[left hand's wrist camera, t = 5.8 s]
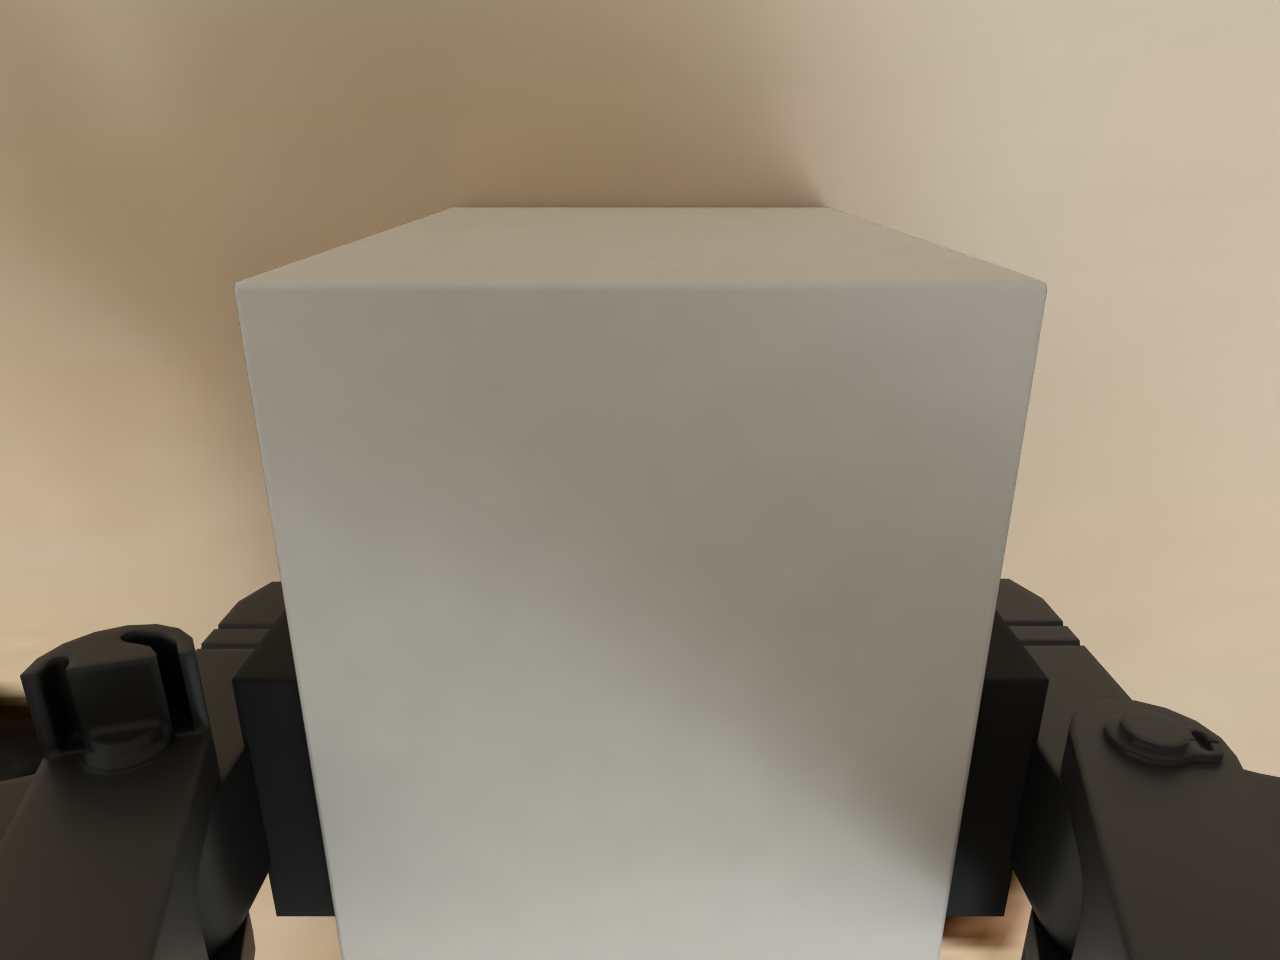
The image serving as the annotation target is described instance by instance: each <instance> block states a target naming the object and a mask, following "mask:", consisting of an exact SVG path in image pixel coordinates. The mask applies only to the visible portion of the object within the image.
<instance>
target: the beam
mask: <svg viewBox="0 0 1280 960" xmlns="http://www.w3.org/2000/svg"><path fill="white" fill-rule="evenodd" d="M234 292H235V298H236V304H237V310H238V317H239V323H240V329H241V335H242V341H243V348H244V354H245V360H246V366H247V372H248V379H249V385H250V391H251V397H252V403H253V410H254V416H255V422H256V428H257V434H258V441H259V447H260V453H261V459H262V465H263V472H264V478H265V484H266V490H267V496H268V503H269V509H270V515H271V521H272V527H273V534H274V540H275V546H276V552H277V558H278V565H279V571H280V577H281V583H282V589H283V596H284V602H285V608H286V614H287V620H288V627H289V633H290V639H291V645H292V651H293V658H294V664H295V670H296V676H297V682H298V689H299V695H300V701H301V707H302V713H303V720H304V726H305V732H306V738H307V744H308V751H309V757H310V763H311V769H312V775H313V782H314V788H315V794H316V800H317V806H318V813H319V819H320V825H321V831H322V837H323V844H324V850H325V856H326V862H327V868H328V875H329V881H330V887H331V893H332V899H333V906H334V912H335V918H336V924H337V930H338V937H339V943H340V949H341V955H342V960H939V953H940V947H941V941H942V935H943V929H944V923H945V916H946V910H947V904H948V898H949V892H950V886H951V879H952V873H953V867H954V861H955V855H956V849H957V842H958V836H959V830H960V824H961V818H962V812H963V805H964V799H965V793H966V787H967V781H968V775H969V768H970V762H971V756H972V750H973V744H974V738H975V731H976V725H977V719H978V713H979V707H980V701H981V694H982V688H983V682H984V676H985V670H986V664H987V657H988V651H989V645H990V639H991V633H992V627H993V620H994V614H995V608H996V602H997V596H998V589H999V583H1000V577H1001V571H1002V565H1003V559H1004V552H1005V546H1006V540H1007V534H1008V528H1009V522H1010V515H1011V509H1012V503H1013V497H1014V491H1015V485H1016V478H1017V472H1018V466H1019V460H1020V454H1021V448H1022V441H1023V435H1024V429H1025V423H1026V417H1027V411H1028V404H1029V398H1030V392H1031V386H1032V380H1033V374H1034V367H1035V361H1036V355H1037V349H1038V343H1039V337H1040V330H1041V324H1042V318H1043V312H1044V306H1045V300H1046V293H1047V287H1046V283H1045V282H1042V281H1040V280H1038V279H1035V278H1032V277H1029V276H1026V275H1023V274H1020V273H1017V272H1014V271H1011V270H1009V269H1006V268H1003V267H1000V266H997V265H994V264H991V263H988V262H985V261H982V260H980V259H977V258H974V257H971V256H968V255H965V254H962V253H959V252H956V251H953V250H950V249H948V248H945V247H942V246H939V245H936V244H933V243H930V242H927V241H924V240H921V239H919V238H916V237H913V236H910V235H907V234H904V233H901V232H898V231H895V230H892V229H890V228H887V227H884V226H881V225H878V224H875V223H872V222H869V221H866V220H863V219H860V218H858V217H855V216H852V215H849V214H846V213H843V212H840V211H837V210H834V209H831V208H829V207H452V208H449V209H446V210H443V211H440V212H437V213H435V214H432V215H429V216H426V217H423V218H420V219H417V220H414V221H411V222H408V223H406V224H403V225H400V226H397V227H394V228H391V229H388V230H385V231H382V232H379V233H377V234H374V235H371V236H368V237H365V238H362V239H359V240H356V241H353V242H351V243H348V244H345V245H342V246H339V247H336V248H333V249H330V250H327V251H324V252H322V253H319V254H316V255H313V256H310V257H307V258H304V259H301V260H298V261H295V262H293V263H290V264H287V265H284V266H281V267H278V268H275V269H272V270H269V271H266V272H264V273H261V274H258V275H255V276H252V277H249V278H246V279H243V280H241V281H239V282H236V284H235V288H234Z"/></svg>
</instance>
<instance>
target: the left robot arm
mask: <svg viewBox="0 0 1280 960" xmlns="http://www.w3.org/2000/svg"><path fill="white" fill-rule="evenodd" d="M20 678H21V681H22V685H23V688H24V692H25V695H26V698H27V702H28V705H29V709H30V712H31V716H32V719H33V722H34V726H35V729H36V733H37V736H38V740H39V743H40V746H41V750H42V753H43V757H44V758H43V760H42V762H41V764H40V766H39V768H38V770H37V772H36V774H33V775H29V776H25V777H21V778H16V779H11V780H6V781H1V782H0V960H254V956H255V942H254V935H253V929H252V924H251V919H250V914H249V909H250V907H251V905H252V903H253V902H254V900H255V898H256V896H257V894H258V892H259V890H260V888H261V886H262V884H263V882H264V880H265V878H266V876H267V874H268V873H269V878H270V883H271V889H272V894H273V899H274V904H275V909H276V915H277V916H335V912H334V906H333V899H332V893H331V887H330V881H329V875H328V868H327V862H326V856H325V850H324V844H323V837H322V831H321V825H320V819H319V813H318V806H317V800H316V794H315V788H314V782H313V775H312V769H311V763H310V757H309V751H308V744H307V738H306V732H305V726H304V720H303V713H302V707H301V701H300V695H299V689H298V682H297V676H296V670H295V664H294V658H293V651H292V645H291V639H290V633H289V627H288V620H287V614H286V608H285V602H284V596H283V589H282V583H281V582H271V583H269V584H268V585H266V586H264V587H263V588H261V589H259V590H257V591H256V592H254V593H252V594H251V595H249V596H247V597H246V598H244V599H242V600H240V601H239V602H238V603H237V604H236V605H235V606H234V607H233V609H232V610H231V611H230V612H229V613H228V614H227V615H226V617H225V618H224V619H223V620H222V621H221V622H220V623H219V625H218V629H214V630H213V631H212V633H211V634H210V635H209V636H208V637H207V638H206V639H205V641H204V642H203V643H202V647H201V649H197V650H196V651H195V648H194V643H193V638H192V637H190V636H189V635H188V634H186V633H185V632H184V631H182V630H181V629H179V628H174V627H169V626H164V625H158V624H149V625H127V626H122V627H117V628H113V629H108V630H103V631H98V632H94V633H91V634H88V635H86V636H83V637H80V638H78V639H75V640H72V641H69V642H67V643H64V644H62V645H60V646H58V647H57V648H55V649H53V650H51V651H50V652H48V653H46V654H45V655H43V656H41V657H39V658H38V659H36V660H35V661H34V662H33V663H32V664H31V665H30V666H29V667H28V668H27V669H26V670H25V671H24V672H23V673H22V674H21V675H20ZM1013 870H1014V872H1015V874H1016V876H1017V878H1018V880H1019V882H1020V884H1021V886H1022V888H1023V890H1024V892H1025V894H1026V896H1027V898H1028V899H1029V901H1030V903H1031V905H1032V909H1031V914H1030V919H1029V924H1028V929H1027V934H1026V939H1025V943H1024V948H1023V953H1022V958H1021V960H1280V777H1275V776H1270V775H1265V774H1260V773H1256V772H1252V771H1248V770H1244V769H1243V768H1242V766H1241V764H1240V762H1239V760H1238V758H1237V757H1236V755H1235V754H1234V753H1233V752H1232V751H1231V749H1230V748H1229V747H1228V746H1227V745H1226V743H1225V742H1224V741H1223V740H1222V739H1221V738H1220V737H1219V736H1217V735H1216V734H1215V733H1213V732H1212V731H1210V730H1209V729H1207V728H1206V727H1204V726H1203V725H1201V724H1200V723H1198V722H1197V721H1195V720H1193V719H1190V718H1188V717H1186V716H1183V715H1181V714H1179V713H1176V712H1174V711H1172V710H1169V709H1167V708H1163V707H1159V706H1155V705H1151V704H1147V703H1143V702H1139V701H1133V700H1132V699H1131V698H1130V697H1129V696H1128V695H1127V694H1126V693H1125V691H1124V690H1123V689H1122V688H1121V687H1120V686H1119V685H1118V684H1117V682H1116V681H1115V680H1114V679H1113V678H1112V677H1111V676H1110V674H1109V673H1108V672H1107V671H1106V670H1105V669H1104V668H1103V667H1102V665H1101V664H1100V663H1099V662H1098V661H1097V660H1096V659H1095V657H1094V656H1093V655H1092V654H1091V653H1090V652H1089V651H1088V650H1087V648H1086V647H1085V646H1080V640H1079V639H1078V638H1077V637H1076V636H1075V635H1074V634H1073V633H1072V631H1071V630H1070V629H1069V628H1068V627H1067V626H1063V621H1062V620H1061V619H1060V618H1059V617H1058V616H1057V614H1056V613H1055V612H1054V611H1053V610H1052V609H1051V608H1050V606H1049V605H1048V604H1047V603H1046V602H1045V601H1044V600H1043V599H1042V598H1041V597H1039V596H1037V595H1036V594H1034V593H1032V592H1030V591H1029V590H1027V589H1025V588H1024V587H1022V586H1020V585H1018V584H1017V583H1015V582H1013V581H1012V580H1010V579H1000V583H999V589H998V596H997V602H996V608H995V614H994V620H993V627H992V633H991V639H990V645H989V651H988V657H987V664H986V670H985V676H984V682H983V688H982V694H981V701H980V707H979V713H978V719H977V725H976V731H975V738H974V744H973V750H972V756H971V762H970V768H969V775H968V781H967V787H966V793H965V799H964V805H963V812H962V818H961V824H960V830H959V836H958V842H957V849H956V855H955V861H954V867H953V873H952V879H951V886H950V892H949V898H948V904H947V910H946V916H1004V913H1005V907H1006V902H1007V897H1008V892H1009V887H1010V881H1011V876H1012V871H1013Z"/></svg>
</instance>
